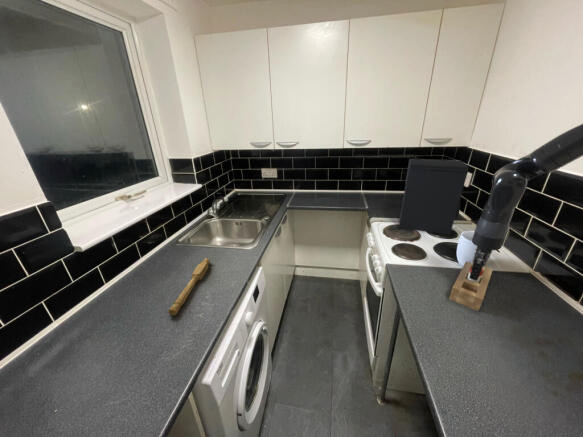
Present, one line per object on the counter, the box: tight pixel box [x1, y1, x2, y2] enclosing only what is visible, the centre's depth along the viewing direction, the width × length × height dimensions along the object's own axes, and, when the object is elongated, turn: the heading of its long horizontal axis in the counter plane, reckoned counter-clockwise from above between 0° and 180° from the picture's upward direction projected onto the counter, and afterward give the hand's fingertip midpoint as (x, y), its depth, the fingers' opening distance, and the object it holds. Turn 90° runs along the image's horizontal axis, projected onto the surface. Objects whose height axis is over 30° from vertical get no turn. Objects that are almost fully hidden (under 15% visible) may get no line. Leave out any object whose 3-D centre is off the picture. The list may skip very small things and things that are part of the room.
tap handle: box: [167, 258, 211, 316], centre depth 89 cm, size 3×3×30 cm
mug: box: [456, 230, 494, 267], centre depth 93 cm, size 15×11×13 cm
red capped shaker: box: [467, 268, 483, 283], centre depth 80 cm, size 3×3×9 cm
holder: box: [448, 261, 493, 312], centre depth 81 cm, size 8×20×5 cm, turn 135°
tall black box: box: [398, 157, 469, 236], centre depth 122 cm, size 28×20×35 cm
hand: (474, 275), depth 79 cm, fingers open, 4 cm apart
